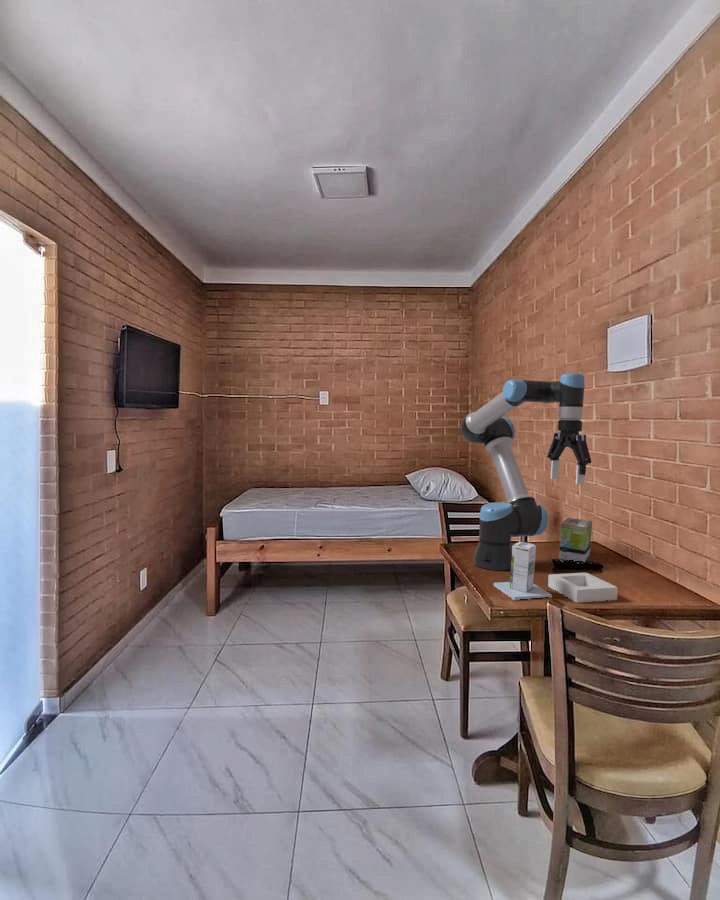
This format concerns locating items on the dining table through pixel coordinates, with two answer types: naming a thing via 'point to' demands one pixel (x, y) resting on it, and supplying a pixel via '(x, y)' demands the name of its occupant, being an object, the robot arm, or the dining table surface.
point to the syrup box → (522, 566)
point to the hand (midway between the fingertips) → (566, 481)
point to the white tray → (582, 587)
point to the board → (517, 595)
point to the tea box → (575, 539)
